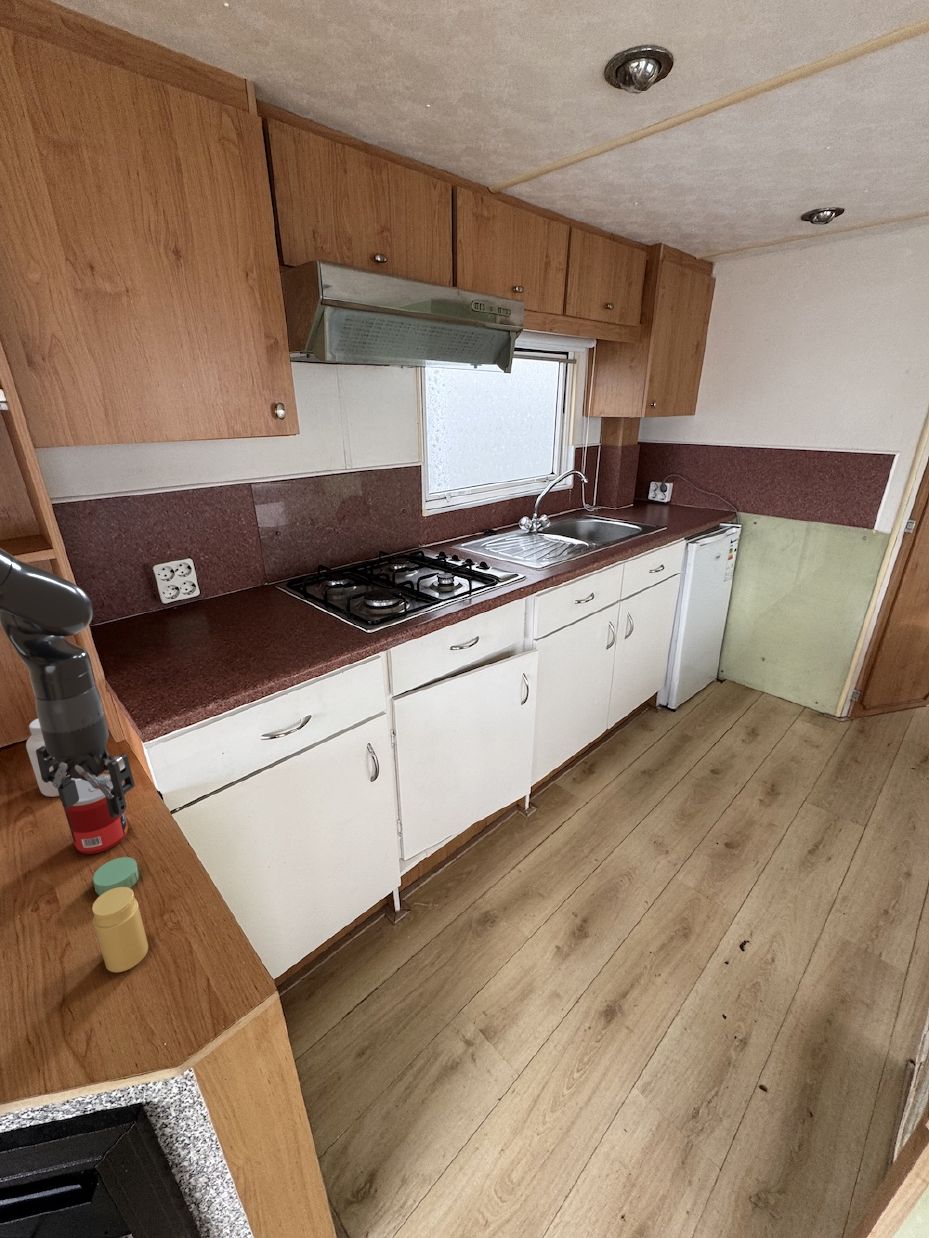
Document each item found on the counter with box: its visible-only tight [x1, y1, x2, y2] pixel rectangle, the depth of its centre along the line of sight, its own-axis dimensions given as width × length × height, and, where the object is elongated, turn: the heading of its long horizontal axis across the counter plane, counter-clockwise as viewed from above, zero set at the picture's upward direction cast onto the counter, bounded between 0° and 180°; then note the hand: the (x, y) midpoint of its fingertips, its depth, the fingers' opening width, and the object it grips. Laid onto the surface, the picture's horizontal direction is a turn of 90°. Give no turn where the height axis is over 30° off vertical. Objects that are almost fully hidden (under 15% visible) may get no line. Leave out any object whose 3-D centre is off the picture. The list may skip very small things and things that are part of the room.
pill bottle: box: [25, 718, 81, 798], centre depth 106 cm, size 8×8×15 cm
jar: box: [91, 887, 149, 973], centre depth 73 cm, size 5×5×10 cm
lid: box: [92, 856, 140, 896], centre depth 86 cm, size 6×6×2 cm
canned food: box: [63, 773, 129, 855], centre depth 94 cm, size 8×8×11 cm
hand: (94, 809), depth 82 cm, fingers open, 8 cm apart
